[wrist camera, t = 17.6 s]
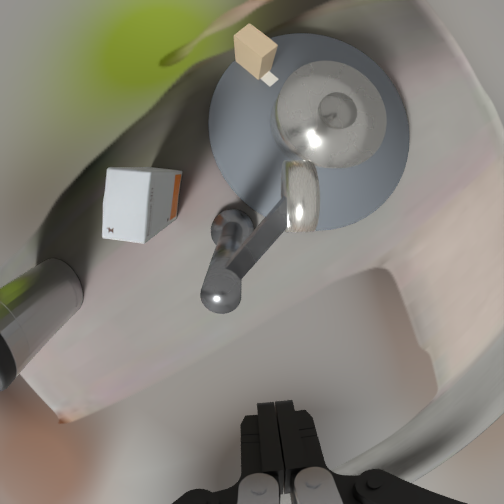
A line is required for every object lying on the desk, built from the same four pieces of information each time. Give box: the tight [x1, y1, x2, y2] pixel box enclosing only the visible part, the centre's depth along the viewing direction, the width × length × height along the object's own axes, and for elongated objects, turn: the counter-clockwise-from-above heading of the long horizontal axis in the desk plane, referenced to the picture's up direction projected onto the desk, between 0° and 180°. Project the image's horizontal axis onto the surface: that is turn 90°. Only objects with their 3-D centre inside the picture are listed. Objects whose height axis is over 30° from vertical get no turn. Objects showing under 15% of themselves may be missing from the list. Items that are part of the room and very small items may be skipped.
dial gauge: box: [200, 160, 320, 314], centre depth 24 cm, size 8×10×18 cm
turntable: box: [208, 23, 409, 231], centre depth 26 cm, size 24×24×9 cm
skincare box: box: [102, 167, 182, 244], centre depth 27 cm, size 6×4×12 cm
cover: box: [270, 61, 387, 168], centre depth 25 cm, size 10×10×8 cm
